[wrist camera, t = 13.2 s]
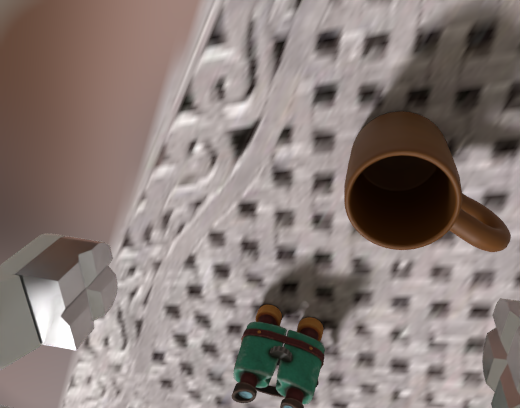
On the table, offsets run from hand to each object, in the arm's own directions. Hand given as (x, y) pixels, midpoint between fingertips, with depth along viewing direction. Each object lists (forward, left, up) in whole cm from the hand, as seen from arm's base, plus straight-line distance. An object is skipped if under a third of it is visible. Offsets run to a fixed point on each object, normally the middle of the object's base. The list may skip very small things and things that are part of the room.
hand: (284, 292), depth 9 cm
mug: (-6, +8, -29) cm, 31 cm away
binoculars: (+5, +30, -29) cm, 42 cm away
